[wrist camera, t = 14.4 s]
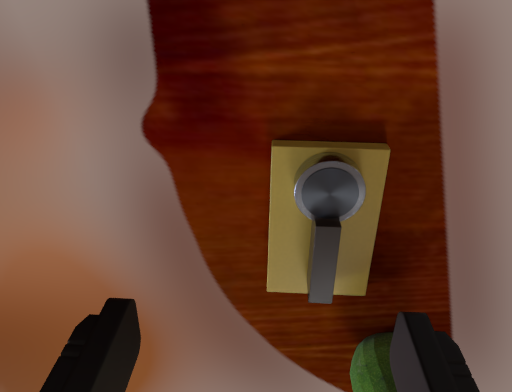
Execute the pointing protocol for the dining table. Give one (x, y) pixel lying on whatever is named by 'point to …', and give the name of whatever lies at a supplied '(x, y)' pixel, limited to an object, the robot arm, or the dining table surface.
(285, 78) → the dining table surface
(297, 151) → the board
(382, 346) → the avocado
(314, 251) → the frying pan
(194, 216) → the dining table surface
